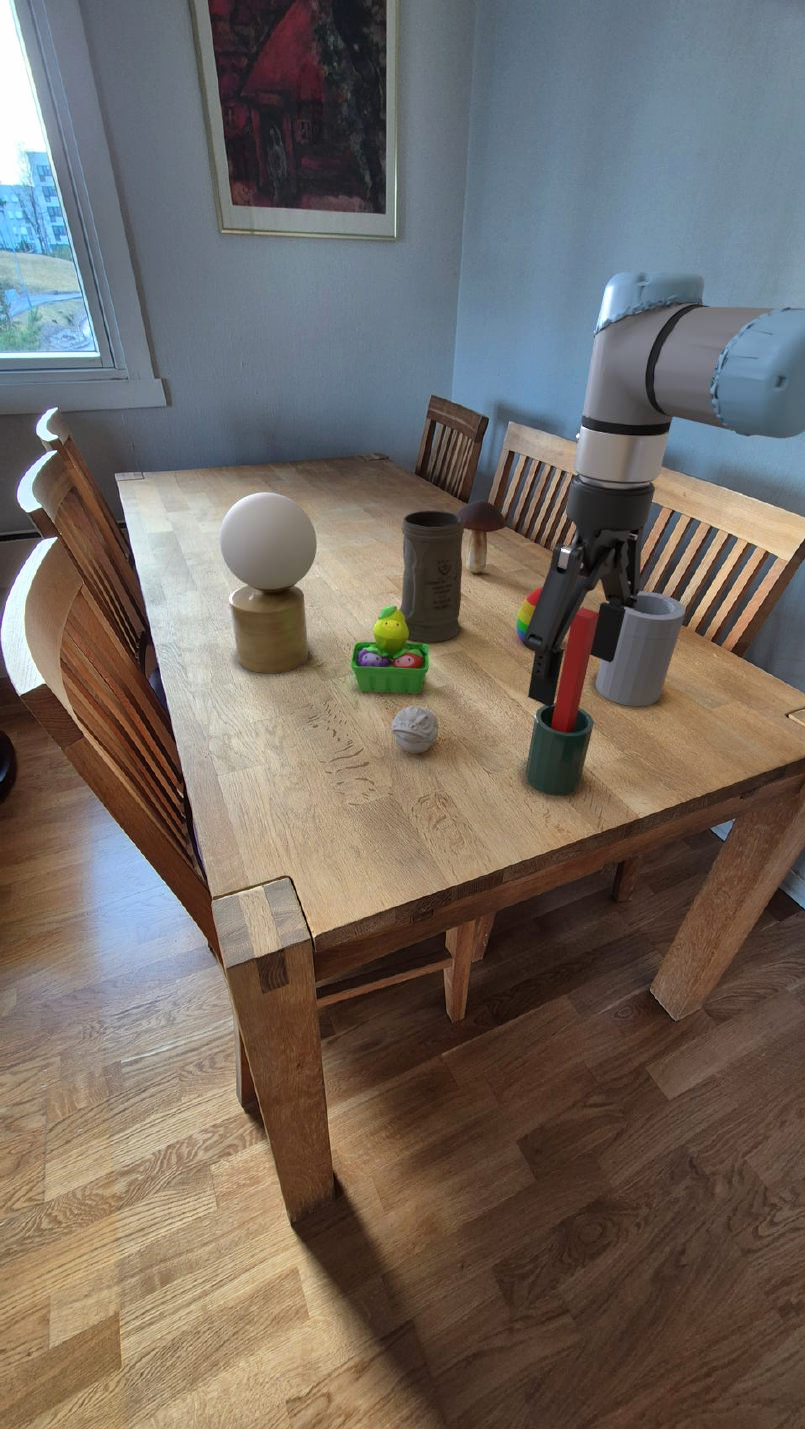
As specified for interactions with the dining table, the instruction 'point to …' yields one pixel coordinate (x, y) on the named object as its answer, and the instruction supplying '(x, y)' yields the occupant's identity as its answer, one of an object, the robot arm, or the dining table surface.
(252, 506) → the lamp
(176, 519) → the dining table surface
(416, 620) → the dark grey hollow cylinder
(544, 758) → the pen pot
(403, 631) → the fruit basket
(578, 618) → the paint brush
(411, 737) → the grey wrinkled ball
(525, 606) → the decorative egg
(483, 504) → the decorative mushroom
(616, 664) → the vase
